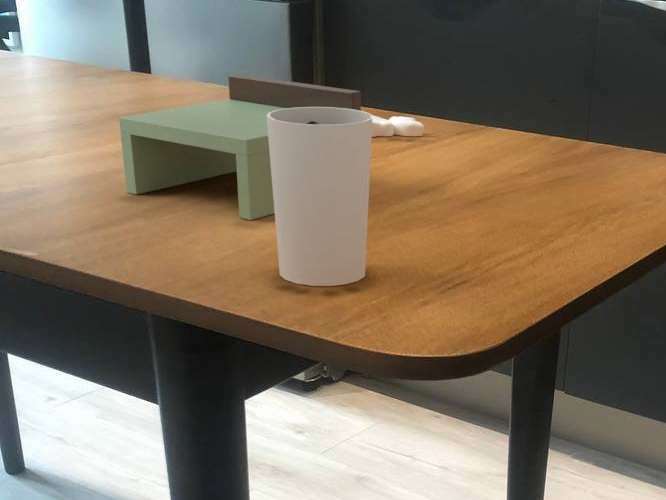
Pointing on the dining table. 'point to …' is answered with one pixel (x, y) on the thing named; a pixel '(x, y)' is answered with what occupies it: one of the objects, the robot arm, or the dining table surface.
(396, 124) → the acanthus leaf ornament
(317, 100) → the desk
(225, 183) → the dining table surface
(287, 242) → the white cup
